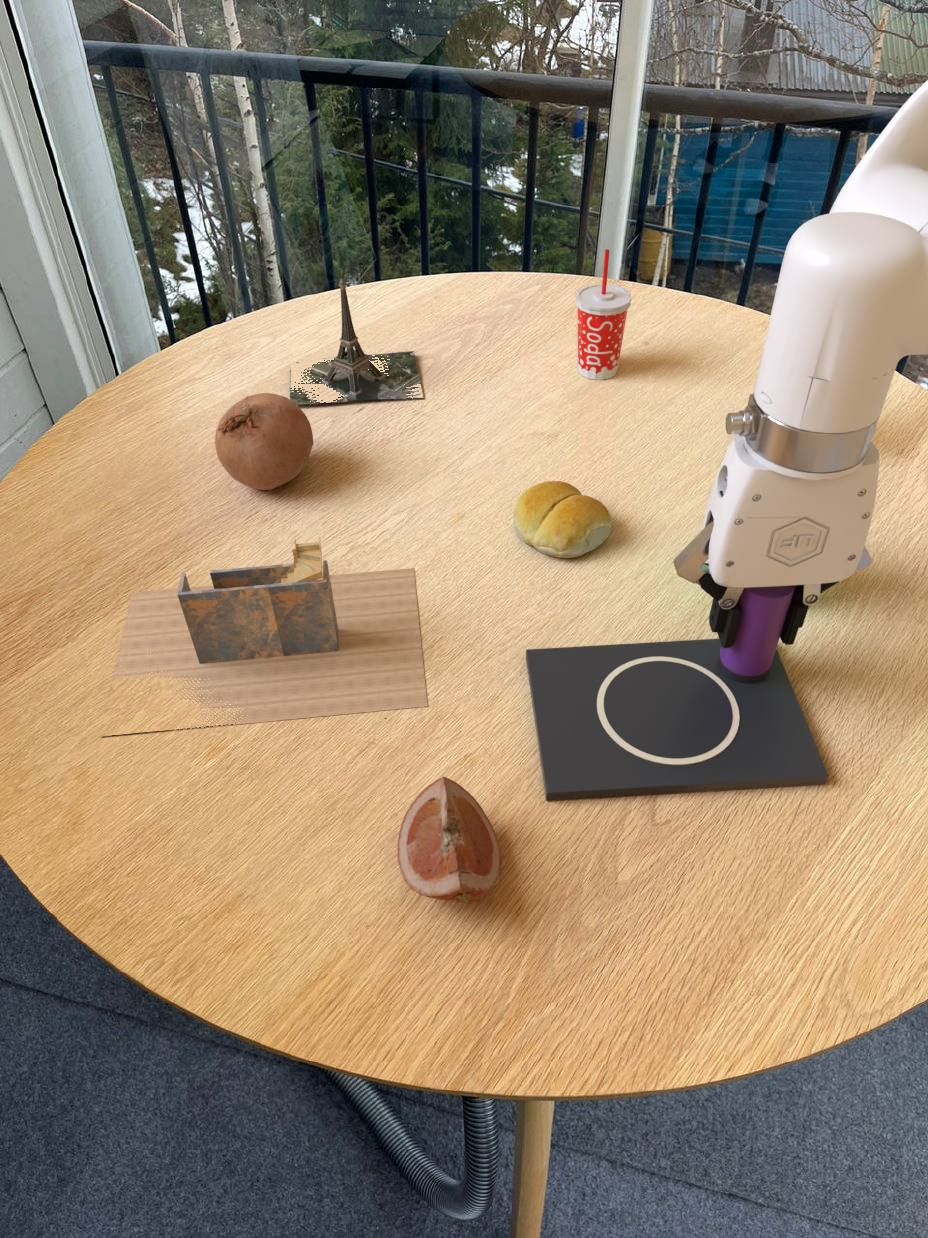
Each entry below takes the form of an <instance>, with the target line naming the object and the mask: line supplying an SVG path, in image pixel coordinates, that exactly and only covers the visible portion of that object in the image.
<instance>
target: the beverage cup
mask: <svg viewBox="0 0 928 1238" xmlns="http://www.w3.org/2000/svg"><path fill="white" fill-rule="evenodd" d="M609 259H610V249H608V248H606V249H604V258H603V269H602V270H603V271H602V283H593V284H588V285H584V286H582V287H581V288H579V289H578V290H577V291H576V292H575V293H574V294H575V300H574V302H575V307H577V373H578V374H579V375H580V376H582V377H583V378H587V379H589V380H594V381H603V380H607V379H612V377H614V376H616V374H617V372H618V370H619V363H620V358H621V351H622V346H623V339H624V334H625V327H626V323H627V322H626V321H627V317H628V315H627V314H628V309H629V308H630V306H631V303H632V299H633V297H632V293H631V292H630V291H629V290H628V289H627V288H626V287H622V286H620V285H618V284H612V283H608V273H609V272H608V271H609V261H610V260H609Z"/></svg>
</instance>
